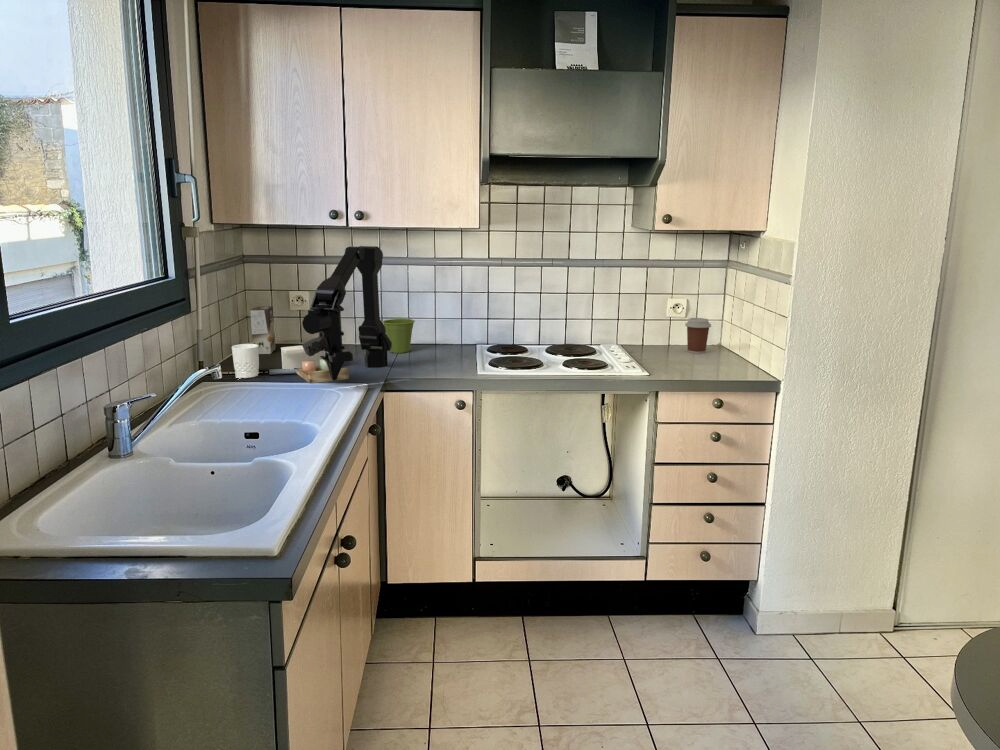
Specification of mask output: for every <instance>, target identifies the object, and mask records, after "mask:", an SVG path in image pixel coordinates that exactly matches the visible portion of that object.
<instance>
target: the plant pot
mask: <svg viewBox="0 0 1000 750" xmlns="http://www.w3.org/2000/svg"><path fill="white" fill-rule="evenodd" d="M381 321H382V323H383V324H384V326H385V330H386V335H387V336H388V338H389V339H390V341H391V342H392V347H391V349H390V351H389V352H390V353H395V354H399V353H400V354H404V353H406V352H408V353H409V352H410V351H411V343H412V336H413V335H412V333H413V328H414V323H416V320H415V319H412V318H411V319H410V318H392V319H386V320H381Z"/></svg>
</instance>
